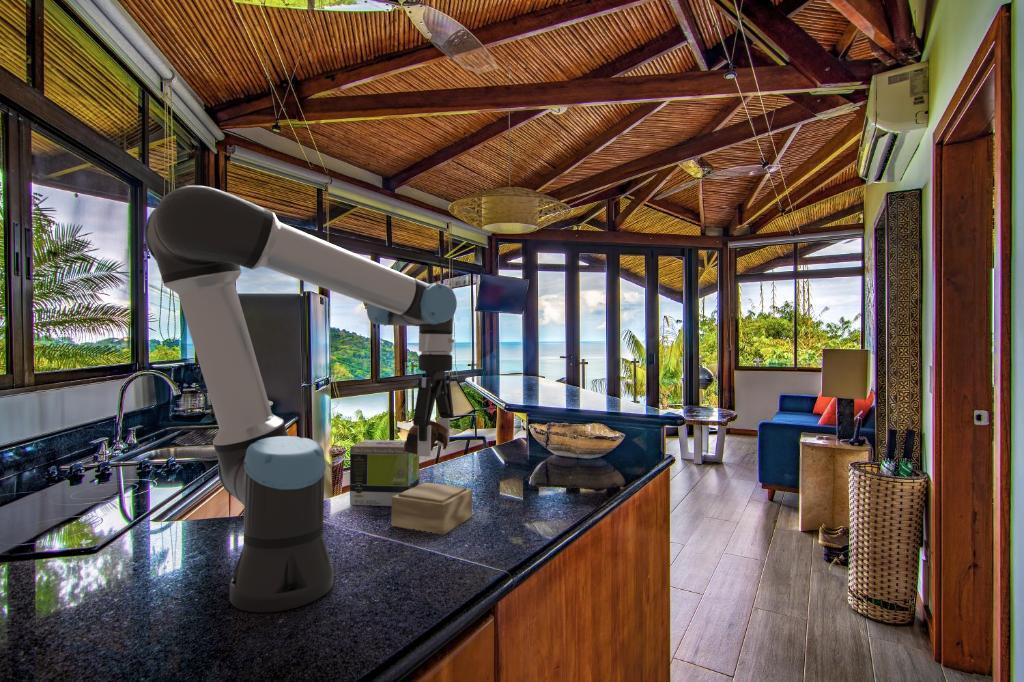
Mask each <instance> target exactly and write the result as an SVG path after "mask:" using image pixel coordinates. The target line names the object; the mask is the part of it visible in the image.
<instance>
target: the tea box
mask: <svg viewBox="0 0 1024 682" xmlns="http://www.w3.org/2000/svg"><path fill="white" fill-rule="evenodd" d="M405 441H406V440H391V439H390V440H386V439H384V440H383V439H382V440H381V439H378V440H377V439H364V440H362V441H360V442H357V443H355V444H353V445H350V449H349V451H350V452H349V461H350V462H349V505H350V506H370V505H371V506H374V507H377V506H379V507H392V497H393V496H395V495H397V494H400V493H402V492H404V491H407V490H409V489H411V488H414V487H416V486H418V485H420V456H417V455H416V454H413V453H409V452H407V451H405V452H403V450H404V443H405Z"/></svg>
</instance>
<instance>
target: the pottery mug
mask: <svg viewBox="0 0 1024 682" xmlns="http://www.w3.org/2000/svg"><path fill="white" fill-rule="evenodd" d="M429 425H430V426H431V452H433V449H434V448H435V443H436V442H438V441H439V442H441V443H443V444H444V445H443V446H442V447H443V448H442V449H443V450H446V449H447V447H448V446H447V436H446V433H447V431H448V430H447V429H446V428H445V427H444V426H442V425H441V424H438V422H436V421H433V420H431V419H430V423H429ZM404 441H405V443H404V450H403V452H405V451H407V452H409V453H413V454H416V455H418V426H416V425H412V426H411V427H410V428H409V430H408V433H407V434H406V440H404Z"/></svg>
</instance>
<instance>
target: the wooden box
mask: <svg viewBox="0 0 1024 682" xmlns="http://www.w3.org/2000/svg"><path fill="white" fill-rule="evenodd" d="M472 517H473V489H471V488H467V487H463V486H456V485H447V484H441V483H432V482H423V483H421V484H419V485H418V486H416V487H414V488H411V489H409V490H407V491H404V492H402V493H400V494H397V495H395V496H393V497H392V506H391V525H392V526H391V527H396V526H397V527H396V528H403V529H408V530H413V529H415V530H414V531H419V530H421V531H420V532H424V531H426V532H425V533H430V532H432V534H436V533H437V535H441V534H442V535H443V534H444V535H445V534H447V533H448V532H450V531H452V530H453V529H455V528H456V527H458V526H459V525H461V524H462V523H464V522H466V521H467V520H469V519H470V518H472ZM451 529H452V530H451ZM444 535H443V536H444Z"/></svg>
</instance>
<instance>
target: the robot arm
mask: <svg viewBox="0 0 1024 682" xmlns="http://www.w3.org/2000/svg"><path fill="white" fill-rule="evenodd" d="M144 242H145V243H146V244H145V245H146V248H147V250H148V251H149V252H150V255H151V256H152V257H153V259H154V260H155V262H156V264H157V267H158V270H159V274H160V276H161V280H162V283H163V286H164V287H166V288H167V289H169V290H171V291H172V292H175V293H176V294H177V295H178V299H179V302H180V305H181V308H182V311H183V315H184V318H185V322H186V325H187V327H188V330H189V334H190V335H189V336H190V338H191V341H192V344H193V347H194V348H193V349H194V351H195V354H196V357H197V359H198V360H197V361H198V363H199V366H200V369H201V370H200V371H201V373H202V377H203V380H204V383H205V386H206V389H207V393H208V396H209V399H210V403H211V405H212V409H213V413H214V415H215V419H216V422H217V425H218V432H217V433H216V435H215V437H214V438H213V439H212V444H213V449H214V450H215V454H216V457H217V460H218V462H217V472H218V473H217V475H218V479H219V481H220V483H221V485H222V487H223V488H224V490H225V491H226V492H227V493H228V494H229V495H231V497H234V498H235V499H236V500H238V502H240V503H241V504H242V505H243V509H244V510H243V544H242V550H241V552H240V554H239V558H238V560H237V562H236V566H235V568H234V572H233V575H232V577H231V580H230V583H229V602H230V604H231V605H232V606H233V607H234V608H236V609H239V610H241V611H245V612H249V613H273V612H282V611H288V610H291V609H296V608H299V607H304V606H305V605H308V604H310V603H313V602H315V601H317V600H319V599H321V598H323V596H325V595H327V594H328V593H329V592H330V590H331V589H332V587H333V586H334V573H335V572H334V566H333V563H332V562H331V558H330V554H329V551H328V547H327V545H326V541H325V538H324V511H325V510H324V507H325V505H324V504H325V496H324V495H325V471H326V467H327V466H326V461H325V451H324V448H323V447H322V445H321V444H320V443H319V442H317V441H316V440H314V439H311V438H308V437H300V436H294V435H291V436H290V435H289V434H288V431H287V427H286V425H285V421H284V419H283V418H282V417H279V416H277V415H275V414H274V413H273V412H272V409H271V406H270V401H269V398H268V395H267V392H266V388H265V384H264V381H263V378H262V374H261V371H260V367H259V364H258V360H257V356H256V353H255V350H254V349H255V348H254V346H253V343H252V339H251V335H250V332H249V329H248V325H247V322H246V318H245V314H244V312H243V307H242V305H241V301H240V297H239V294H238V291H237V287H236V282H237V280H238V279H239V277H240V276H241V274H242V269H241V267H244V268H247V269H249V270H256V269H258V268H261V267H262V268H266V269H269V270H272V271H274V272H277V273H280V274H283V275H285V276H288V277H291V278H293V279H294V278H295V279H297V280H300V281H303V282H306V283H309V284H311V285H313V286H318V287H320V288H322V289H326V290H328V291H331V292H334V293H336V294H338V295H339V294H340V295H342V296H345V297H348V298H352V299H354V300H357V301H359V302H363V303H365V304H366V315H367V318H368V320H369V321H370V322H371V323H372V324H374V325H381V326H384V327H385V326H397V327H398V326H399V327H401V326H403V327H405V326H406V327H407V326H408V327H411V326H413V327H418V351H419V352H421V353H420V354H419V355H418V370H419V371H421V372H425V373H424V377H418V383H417V384H418V385H417V387H418V389H417V393H416V402H415V406H414V407H415V408H414V414H413V419H412V420H413V421H412V422H413V423H412V424H413V425H412V426H414V425H416V426H418V455H417V456H419V457H426V458H427V457H432V454H431V453H432V451H431V426H430V425H429V423H430V420H431V418H432V415H433V414H432V413H433V410H434V407H435V406H434V405H435V403H436V408H437V412H438V415H439V417H438V418H437V423H438V424H441V425H442V426H444V427H445V428H446V429H447V430H448V431H447V433H446V436H447V446H446V447H449V446H450V434H451V433H450V430H451V429H450V427H451V426H450V424H451V421H450V420H451V419H452V418H454V405H453V397H452V395H453V394H452V388H451V375H450V374H446V372H451V371H452V370H453V355H452V354H451V353H452V352H453V344H454V343H455V339H454V338H453V336H454V335H453V333H454V332H453V331H454V315H455V313H456V311H457V305H458V303H457V296H456V294H455V292H454V290H453V288H452V287H451V286H450V285H448V284H443V283H437V282H433V283H426V282H425V281H422V280H420V279H417V278H414V277H411V276H409V275H407V274H405V273H401V272H400V271H398V270H395V269H392V268H391V267H388V266H385V265H383V264H381V263H378V262H376V261H374V260H371V259H369V258H366V257H363V256H361V255H359V254H357V253H354V252H353V251H349V250H347V249H345V248H342V247H340V246H337V245H335V244H332V243H330V242H328V241H327V240H324V239H321V238H318V237H316V236H314V235H312V234H308V233H306V232H305V231H302V230H300V229H297V228H295V227H292V226H290V225H288V224H285V223H282V222H281V221H279V219H278V218H277V216H276V213H275V212H273V211H272V210H270V209H269V210H268V209H267V208H264V207H261V206H259V205H257V204H255V203H253V202H251V201H248V200H245V199H243V198H241V197H239V196H237V195H234V194H230V193H229V192H226V191H223V190H220V189H217V188H214V187H210V186H204V185H186V186H185V185H184V186H182V187H179V188H176V189H173V190H172V191H169V193H167V194H166V195H164V196H163V197H162V199H161V200H160V202H159V203H158V204H157V206H156V208H154V209H153V210H152V212H151V213H150V214H149V216H148V218H147V220H146V223H145V227H144ZM436 442H437V446H438V447H443V445H444V444H443V443H441V442H439V441H436Z"/></svg>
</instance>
